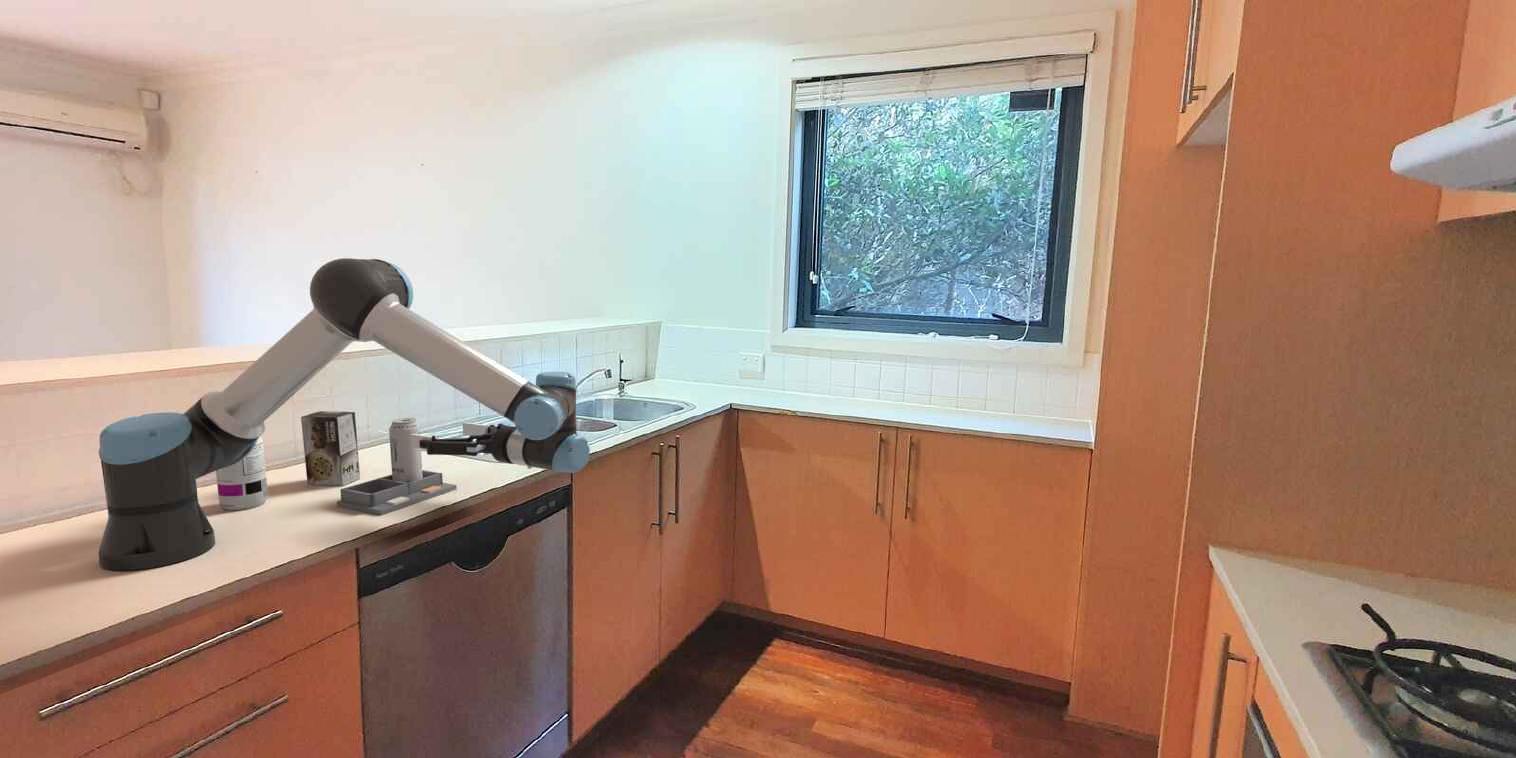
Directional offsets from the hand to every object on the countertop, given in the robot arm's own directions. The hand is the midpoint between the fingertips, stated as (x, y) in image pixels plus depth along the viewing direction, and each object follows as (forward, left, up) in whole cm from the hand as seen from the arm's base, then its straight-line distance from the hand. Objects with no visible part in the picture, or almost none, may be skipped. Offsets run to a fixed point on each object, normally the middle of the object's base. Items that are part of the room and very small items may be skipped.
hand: (439, 434), depth 149 cm
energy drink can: (+1, +11, -13) cm, 17 cm away
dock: (-4, +9, -14) cm, 17 cm away
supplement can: (-21, +33, -14) cm, 42 cm away
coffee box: (-2, +32, -14) cm, 35 cm away
